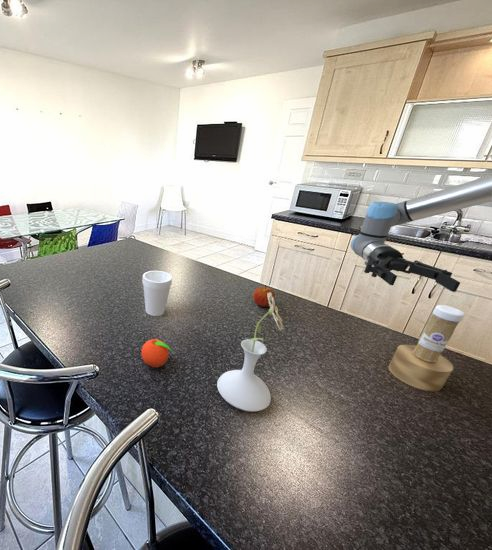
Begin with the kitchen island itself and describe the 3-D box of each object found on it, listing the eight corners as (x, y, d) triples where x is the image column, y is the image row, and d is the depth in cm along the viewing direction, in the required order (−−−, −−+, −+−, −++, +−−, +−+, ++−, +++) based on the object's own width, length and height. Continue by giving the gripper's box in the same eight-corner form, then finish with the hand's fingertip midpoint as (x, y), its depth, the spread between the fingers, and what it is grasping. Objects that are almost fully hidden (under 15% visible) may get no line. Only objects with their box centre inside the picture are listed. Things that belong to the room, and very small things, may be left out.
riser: (425, 366, 77) (435, 348, 74) (452, 395, 68) (465, 375, 66) (380, 359, 79) (389, 341, 77) (401, 386, 70) (412, 366, 68)
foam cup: (174, 315, 98) (177, 279, 93) (149, 321, 94) (152, 284, 89) (159, 302, 106) (161, 268, 100) (136, 307, 102) (137, 273, 97)
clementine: (174, 359, 78) (176, 337, 75) (168, 377, 72) (170, 354, 69) (145, 352, 80) (146, 330, 77) (137, 369, 74) (138, 346, 71)
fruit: (276, 307, 103) (282, 287, 100) (263, 312, 101) (268, 291, 97) (260, 299, 109) (264, 279, 106) (247, 303, 106) (251, 283, 103)
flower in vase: (259, 426, 60) (289, 322, 49) (207, 397, 66) (224, 299, 56) (277, 389, 69) (306, 295, 58) (230, 367, 75) (249, 279, 65)
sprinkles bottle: (415, 359, 70) (440, 311, 65) (409, 349, 74) (433, 302, 68) (440, 366, 68) (469, 316, 63) (433, 354, 72) (459, 307, 66)
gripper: (423, 271, 94) (476, 303, 75) (335, 263, 100) (364, 290, 81) (433, 249, 91) (491, 276, 72) (342, 242, 97) (373, 265, 78)
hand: (424, 283), depth 76 cm, fingers open, 13 cm apart
